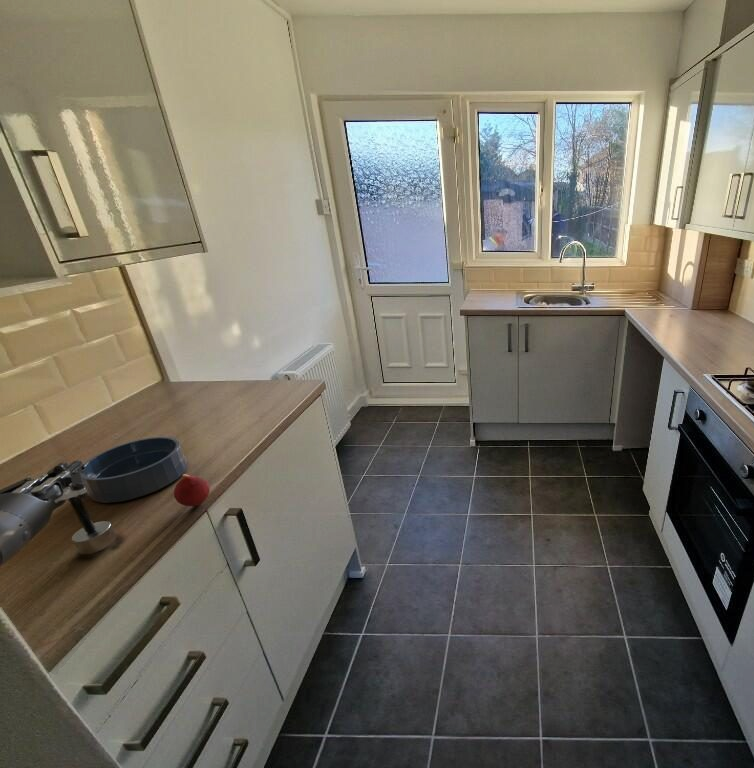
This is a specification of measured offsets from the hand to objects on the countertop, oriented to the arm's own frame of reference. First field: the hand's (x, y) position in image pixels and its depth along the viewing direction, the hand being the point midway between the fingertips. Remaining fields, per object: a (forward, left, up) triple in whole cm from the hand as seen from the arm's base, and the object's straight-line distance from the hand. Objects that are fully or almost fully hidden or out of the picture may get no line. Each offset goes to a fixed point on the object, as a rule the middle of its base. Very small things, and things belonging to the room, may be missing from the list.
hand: (73, 465), depth 73 cm
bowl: (+4, +19, -16) cm, 25 cm away
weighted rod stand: (-1, -3, -15) cm, 15 cm away
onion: (+14, 0, -16) cm, 21 cm away
